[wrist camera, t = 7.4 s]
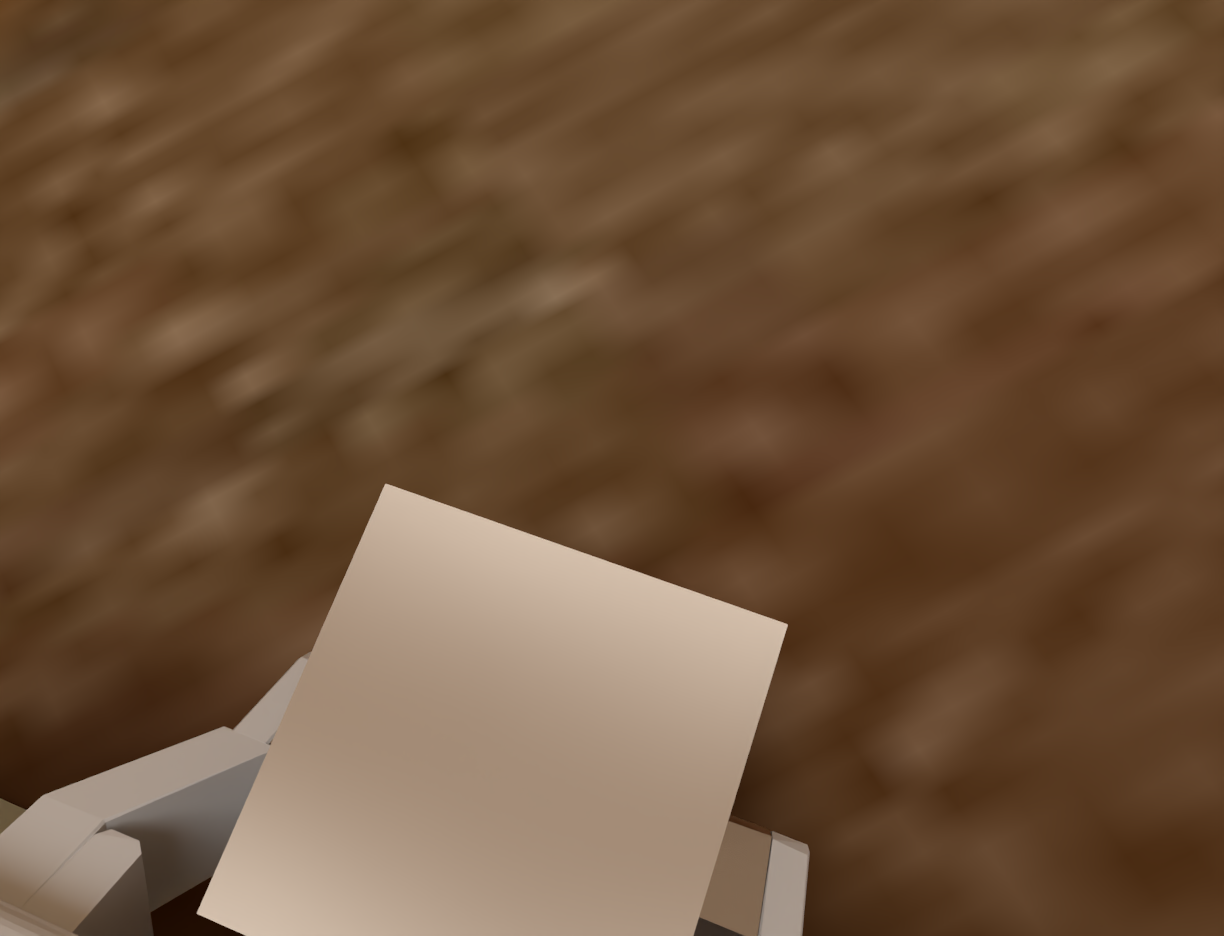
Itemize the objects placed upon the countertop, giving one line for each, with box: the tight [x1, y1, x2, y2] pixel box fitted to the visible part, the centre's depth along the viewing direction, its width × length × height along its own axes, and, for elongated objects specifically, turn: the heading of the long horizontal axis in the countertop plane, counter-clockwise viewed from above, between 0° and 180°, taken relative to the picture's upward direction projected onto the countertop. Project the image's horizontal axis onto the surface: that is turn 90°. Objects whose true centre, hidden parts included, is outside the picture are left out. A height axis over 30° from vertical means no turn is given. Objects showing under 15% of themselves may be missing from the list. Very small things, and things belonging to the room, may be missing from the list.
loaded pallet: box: [197, 484, 788, 936], centre depth 12 cm, size 5×5×8 cm
